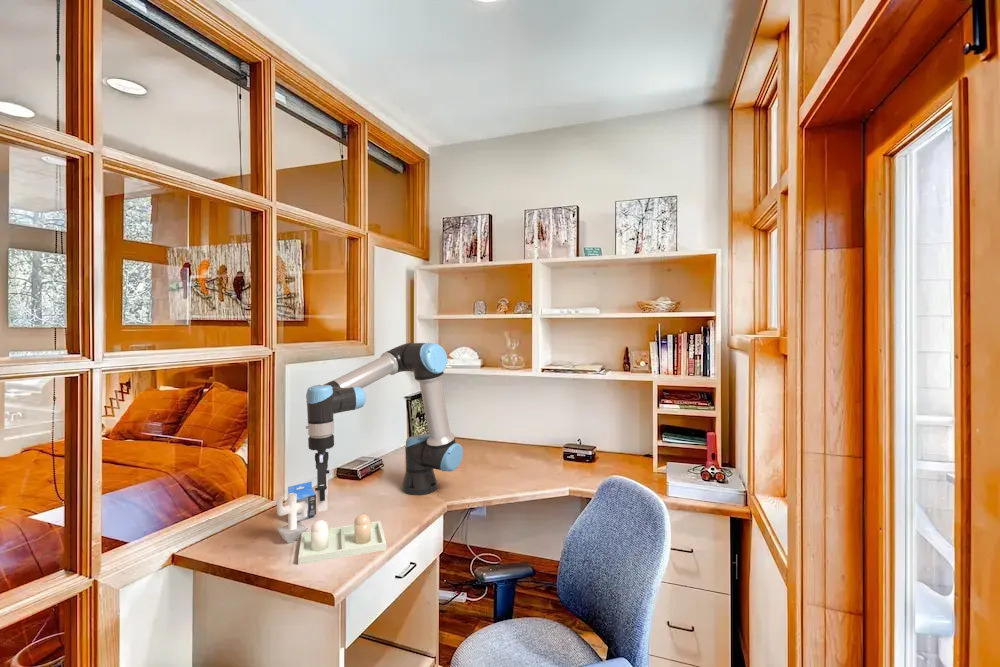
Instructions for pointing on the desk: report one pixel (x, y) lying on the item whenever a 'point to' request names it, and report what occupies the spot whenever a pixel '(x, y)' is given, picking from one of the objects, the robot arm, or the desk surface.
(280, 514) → the figurine
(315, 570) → the desk surface
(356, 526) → the tan domed cylinder
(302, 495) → the label tape cartridge
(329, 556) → the tray
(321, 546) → the cream domed cylinder
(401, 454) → the desk surface
